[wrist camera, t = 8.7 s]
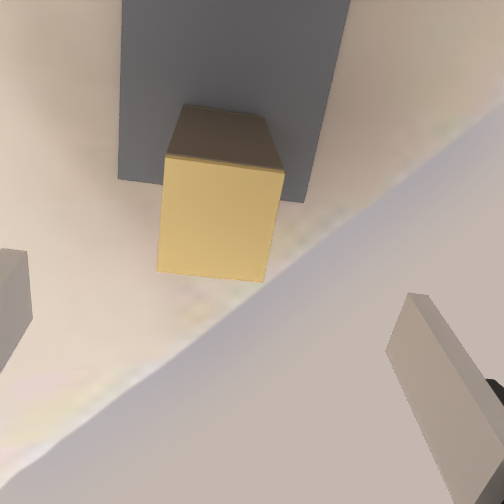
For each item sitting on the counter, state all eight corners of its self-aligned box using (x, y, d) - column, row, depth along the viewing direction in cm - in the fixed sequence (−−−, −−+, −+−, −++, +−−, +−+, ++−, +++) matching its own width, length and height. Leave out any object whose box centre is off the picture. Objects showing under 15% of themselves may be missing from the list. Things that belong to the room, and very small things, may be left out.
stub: (183, 103, 31) (165, 155, 20) (263, 115, 32) (285, 172, 21) (176, 187, 34) (156, 271, 23) (249, 197, 35) (263, 282, 24)
